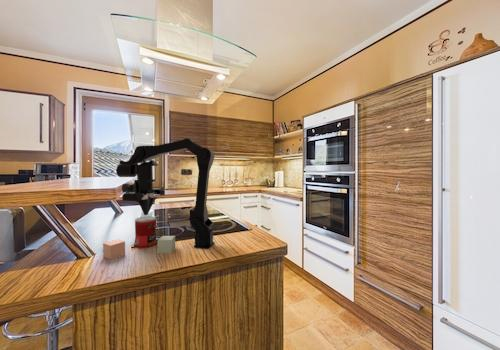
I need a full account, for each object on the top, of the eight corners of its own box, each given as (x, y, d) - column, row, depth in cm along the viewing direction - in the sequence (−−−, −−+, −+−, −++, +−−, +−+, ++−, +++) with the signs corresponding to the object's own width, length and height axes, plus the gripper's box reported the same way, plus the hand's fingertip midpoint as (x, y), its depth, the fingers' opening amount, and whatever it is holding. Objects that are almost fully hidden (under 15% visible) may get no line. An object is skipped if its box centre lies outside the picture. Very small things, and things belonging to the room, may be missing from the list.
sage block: (175, 248, 86) (175, 235, 86) (171, 253, 81) (171, 240, 81) (162, 248, 86) (162, 236, 86) (157, 253, 81) (157, 240, 81)
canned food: (151, 248, 86) (150, 220, 85) (131, 248, 86) (130, 220, 86) (159, 241, 94) (159, 216, 93) (141, 241, 94) (141, 216, 93)
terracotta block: (125, 254, 80) (124, 241, 79) (110, 259, 75) (110, 245, 75) (117, 252, 82) (117, 239, 82) (103, 256, 78) (103, 243, 78)
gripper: (143, 176, 100) (144, 209, 100) (109, 178, 81) (110, 219, 82) (165, 176, 97) (165, 210, 98) (135, 178, 79) (136, 220, 80)
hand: (145, 214), depth 89 cm, fingers closed
